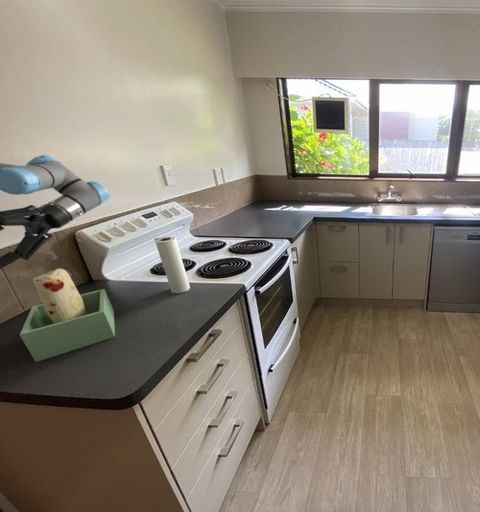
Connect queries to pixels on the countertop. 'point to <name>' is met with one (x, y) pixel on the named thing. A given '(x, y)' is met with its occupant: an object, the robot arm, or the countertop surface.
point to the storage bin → (69, 328)
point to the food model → (59, 296)
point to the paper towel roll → (172, 264)
